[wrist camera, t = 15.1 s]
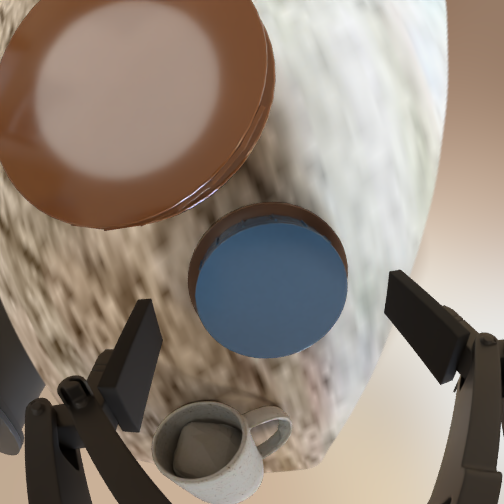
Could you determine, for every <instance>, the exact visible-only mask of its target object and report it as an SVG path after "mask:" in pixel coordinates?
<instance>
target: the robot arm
mask: <svg viewBox="0 0 504 504" xmlns="http://www.w3.org/2000/svg"><path fill="white" fill-rule="evenodd" d="M384 313H385V314H386V316H387V317H388V318H389V319H390V321H391V322H392V323H393V324H394V326H395V327H396V328H397V329H398V330H399V332H400V333H401V334H402V335H403V337H404V338H405V339H406V340H407V342H408V343H409V344H410V345H411V347H412V348H413V349H414V351H415V352H416V353H417V354H418V356H419V357H420V358H421V360H422V361H423V362H424V364H425V365H426V366H427V368H428V369H429V370H430V372H431V373H432V374H433V376H434V377H435V378H436V379H437V381H438V382H439V384H440V385H441V384H444V383H447V382H449V381H451V380H453V378H454V375H455V373H456V371H458V372H459V374H460V378H459V380H458V382H457V384H456V387H455V389H454V391H453V392H455V391H456V389H457V393H456V400H455V406H454V411H453V417H452V422H451V427H450V432H449V436H448V440H447V445H446V449H445V453H444V457H443V460H442V463H441V467H440V470H439V474H438V477H437V480H436V483H435V486H434V489H433V492H432V495H431V498H430V500H429V502H428V503H427V504H497V503H498V499H499V494H500V488H501V483H502V473H501V472H497V470H496V466H497V459H498V451H499V441H500V427H501V423H502V429H503V435H504V340H497V338H496V337H495V336H493V335H492V334H489V333H478V332H477V331H475V329H474V328H472V327H471V326H470V325H469V324H468V323H467V322H466V321H465V320H463V318H462V317H461V316H459V315H458V314H457V313H456V312H455V311H454V310H453V309H451V308H449V307H446V306H445V305H444V306H442V305H440V304H439V303H438V302H437V301H436V300H435V299H434V298H433V297H431V296H430V295H429V294H428V293H427V292H426V291H425V290H424V289H422V288H421V287H420V286H419V285H418V284H417V283H416V282H414V281H413V280H412V279H411V278H410V277H408V276H407V275H406V274H405V273H404V272H403V271H401V270H396V271H389V280H388V289H387V296H386V303H385V310H384ZM162 341H163V339H162V336H161V333H160V329H159V326H158V322H157V318H156V315H155V311H154V307H153V303H152V300H151V299H141V300H138V301H137V303H136V305H135V307H134V309H133V311H132V313H131V315H130V317H129V319H128V321H127V323H126V325H125V327H124V329H123V331H122V333H121V335H120V337H119V339H118V342H117V344H116V346H115V348H114V349H106V350H105V351H104V352H102V353H101V354H100V355H99V356H98V358H97V360H96V362H95V365H94V366H93V368H92V371H91V373H90V375H89V377H88V379H87V381H86V380H85V379H84V378H83V377H81V376H70V377H67V378H66V379H64V380H63V381H62V382H61V383H60V384H59V386H58V388H57V392H58V395H59V396H60V398H61V399H62V401H63V403H64V404H61V405H54V406H52V405H51V403H50V402H49V401H48V400H47V399H45V398H37V399H35V400H33V401H32V402H30V403H29V405H28V406H27V408H26V413H25V466H26V467H25V468H26V482H27V493H28V501H29V504H92V501H91V497H90V494H89V490H88V486H87V481H86V477H85V473H84V468H83V463H82V459H81V454H80V448H86V450H87V451H88V453H89V455H90V457H91V459H92V461H93V463H94V464H95V466H96V468H97V470H98V471H99V473H100V475H101V476H102V478H103V480H104V481H105V483H106V485H107V486H108V488H109V490H110V491H111V493H112V494H113V496H114V497H115V499H116V500H117V502H118V503H119V504H172V503H171V502H170V501H169V500H168V499H167V498H166V497H165V495H164V494H163V493H162V492H161V491H160V490H159V488H158V487H157V486H156V485H155V484H154V482H153V481H152V480H151V479H150V478H149V476H148V475H147V474H146V472H145V471H144V470H143V468H142V467H141V466H140V465H139V463H138V462H137V461H136V459H135V458H134V456H133V455H132V454H131V452H130V451H129V449H128V448H127V447H126V445H125V444H124V442H123V441H122V439H121V438H120V436H119V435H118V433H117V432H116V428H117V425H118V424H119V426H120V427H121V429H122V431H125V432H140V428H141V423H142V419H143V415H144V411H145V406H146V402H147V398H148V394H149V390H150V386H151V382H152V378H153V375H154V371H155V367H156V363H157V360H158V356H159V352H160V349H161V345H162Z"/></svg>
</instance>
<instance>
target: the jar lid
mask: <svg viewBox="0 0 504 504" xmlns="http://www.w3.org/2000/svg"><path fill="white" fill-rule="evenodd" d="M346 296H347V274H346V270H345V267H344V264H343V262H342V260H341V257H340V256H339V254H338V253H337V251H336V250H335V248H334V247H333V246H332V245H331V242H330V241H329V240H328V239H327V238H326V237H325V236H323V235H322V234H321V233H319V232H318V231H317V230H316V229H315V228H313V227H312V226H310V225H308V224H307V223H305V222H304V221H303V220H302V219H301V221H300V220H298V219H295V218H291V217H288V216H280V215H274V214H272V215H265V216H257V217H253V218H250V219H246V220H244V221H243V220H241V222H239V223H237V224H235V225H233V226H232V227H230V228H228V229H227V230H226V231H224V232H223V233H222V234H221V235H220V236H219V237H218V236H217V237H216V240H215V241H214V242H213V243H212V244H211V246H210V247H209V248H208V250H207V252H206V254H205V255H204V257H203V260H201V261H200V265H199V274H198V279H197V284H196V292H195V299H196V307H197V311H198V315H199V317H200V320H201V322H202V323H203V325H204V327H205V329H206V330H207V331H208V332H209V334H210V335H211V336H212V337H213V338H214V339H215V340H216V341H217V342H218V343H220V344H221V345H223V346H224V347H226V348H227V349H229V350H231V351H233V352H236V353H238V354H241V355H245V356H248V357H254V358H278V357H284V356H288V355H292V354H295V353H297V352H300V351H302V350H304V349H306V348H308V347H310V346H311V345H313V344H314V343H316V342H317V341H319V340H320V339H321V338H322V337H324V336H325V335H326V334H327V333H328V331H329V330H330V329H331V328H332V327H333V325H334V324H335V323H336V321H337V320H338V318H339V316H340V314H341V312H342V310H343V307H344V304H345V301H346Z"/></svg>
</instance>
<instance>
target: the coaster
mask: <svg viewBox="0 0 504 504" xmlns="http://www.w3.org/2000/svg"><path fill="white" fill-rule="evenodd" d="M272 214H274V215H280V216H288V217H291V218H295V219H298V220H300V221H301V219H302V220H303V221H304V222H305V223H307V224H308V225H310V226H312V227H313V228H315V229H316V230H317V231H318V232H319V233H321V234H322V235H323V236H325V237H326V238H327V239H328V240H329V241H330V242H331V245H332V246H333V247H334V248H335V250H336V251H337V253H338V254H339V256H340V257H341V260H342V262H343V264H344V267H345V270H346V274H347V276H348V266H347V259H346V255H345V252H344V248H343V246H342V244H341V242H340V240H339V238H338V236H337V235H336V234H335V232H334V231H333V230H332V228H331V227H330V226H329V225H328V224H327V223H326V222H325V221H323V220H322V219H321V218H320V217H318V216H317V215H315V214H314V213H312V212H310V211H309V210H306V209H304V208H302V207H299V206H296V205H292V204H288V203H280V202H263V203H256V204H251V205H248V206H245V207H241V208H239V209H237V210H235V211H232V212H230V213H229V214H227V215H225V216H224V217H222V218H221V219H219V220H218V221H217V222H216V223H215V224H213V225H212V226H211V227H210V228H209V229H208V231H207V232H206V233H205V234H204V235H203V237H202V238H201V240H200V241H199V243H198V245H197V246H196V248H195V250H194V253H193V256H192V259H191V262H190V266H189V272H188V288H189V294H190V298H191V302H192V304H193V306H194V309H195V311H196V312H197V314H198V311H197V307H196V299H195V292H196V284H197V279H198V274H199V265H200V261H201V260H203V257H204V255H205V254H206V252H207V250H208V248H209V247H210V246H211V244H212V243H213V242H214V241H215V240H216V237H217V236H218V237H219V236H220V235H221V234H222V233H223V232H224V231H226V230H227V229H228V228H230V227H232V226H233V225H235V224H237V223H239V222H241V220H243V221H244V220H246V219H250V218H253V217H257V216H265V215H272ZM198 316H199V315H198Z"/></svg>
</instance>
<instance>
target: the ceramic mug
mask: <svg viewBox="0 0 504 504" xmlns="http://www.w3.org/2000/svg"><path fill="white" fill-rule="evenodd" d="M277 419H278V420H279V425H278V430H277V431H276V432H275V434H274V435H273V436H271V437H270V438H269V439H268V440H266V441H265V442H263V443H262V444H260V445H259V446H257V447H256V445H255V443H254V440H253V438H252V435H251V433H250V430H251V429H252V428H254V427H255V426H257V425H260V424H263V423H266V422H268V421H272V420H277ZM292 427H293V426H292V420H291V419H290V417H289V416H288V415H287V414H286V413H285V412H284V411H283V410H282V409H280V408H279V407H276V406H264V407H260V408H257V409H254V410H252V411H249V412H247V413H244V414H242V415H240V413H239V412H238V411H237V410H235V409H234V408H232V407H230V406H229V405H226V404H224V403H220V402H213V401H201V402H195V403H191V404H187V405H185V406H183V407H180V408H178V409H177V410H175V411H174V412H172V413H171V414H169V415H168V416H167V417H166V418H165V419H164V420H163V421H162V422H161V424H160V425H159V427H158V428H157V430H156V432H155V434H154V437H153V441H152V456H153V460H154V462H155V464H156V466H157V468H158V469H159V471H160V472H161V473H162V474H163V475H165V476H166V477H167V478H169V479H170V480H172V481H173V482H174V483H176V484H177V485H179V486H180V487H182V488H183V489H185V490H186V491H188V492H189V493H191V494H192V495H194V496H195V497H197V498H199V499H201V500H202V501H205V502H208V503H211V504H237V503H240V502H243V501H244V500H246V499H248V498H249V497H251V496H252V495H253V494H254V493H255V492H256V490H257V489H258V488H259V487H260V485H261V482H262V479H263V474H264V469H263V461H262V460H263V459H264V458H266V457H267V456H269V455H270V454H272V453H273V452H275V451H277V450H278V449H279V448H280V447H281V446H283V445H284V444H285V442H286V441H287V440H288V438H289V436H290V435H291V432H292Z"/></svg>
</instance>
